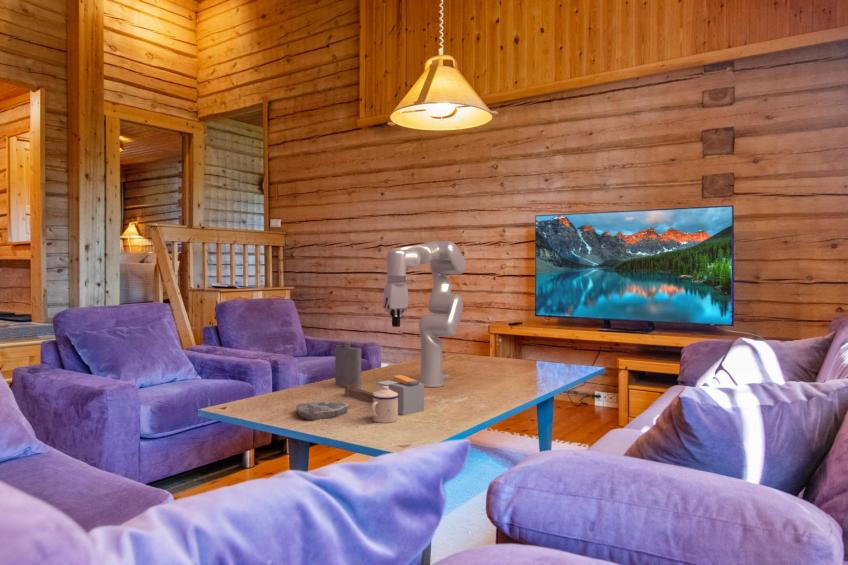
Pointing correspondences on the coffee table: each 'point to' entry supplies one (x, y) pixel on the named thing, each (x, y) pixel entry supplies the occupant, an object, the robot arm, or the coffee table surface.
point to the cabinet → (409, 397)
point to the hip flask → (347, 365)
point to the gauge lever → (406, 380)
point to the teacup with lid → (385, 405)
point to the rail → (358, 393)
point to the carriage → (384, 384)
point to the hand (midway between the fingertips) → (396, 326)
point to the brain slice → (321, 409)
